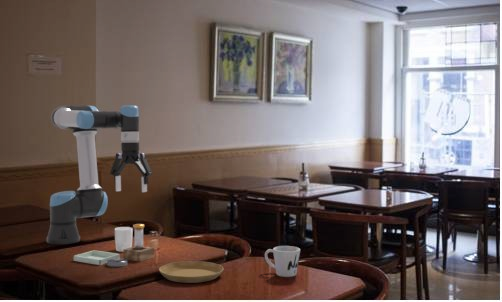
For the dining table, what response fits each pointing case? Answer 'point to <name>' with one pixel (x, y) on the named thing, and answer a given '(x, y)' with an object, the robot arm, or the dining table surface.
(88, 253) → the tray
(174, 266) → the plant saucer
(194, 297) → the dining table surface
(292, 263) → the mug
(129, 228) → the white cup
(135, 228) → the glass jar
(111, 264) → the pulley wheel
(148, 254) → the socket block
